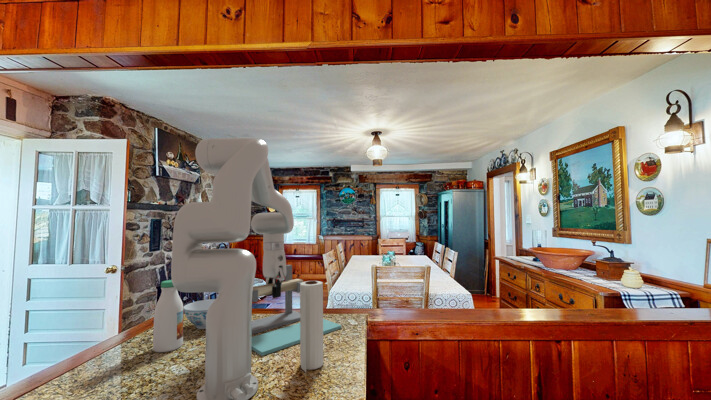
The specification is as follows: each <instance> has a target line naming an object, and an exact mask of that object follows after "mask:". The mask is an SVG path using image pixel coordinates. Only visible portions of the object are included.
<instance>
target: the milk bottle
mask: <svg viewBox="0 0 711 400" xmlns="http://www.w3.org/2000/svg"><path fill="white" fill-rule="evenodd" d="M160 289H161V293H160V296H159V299H158V301H157V302H156V303H155V307H154V313H153V335H152V338H153V340H152V341H153V342H152V349H153V352H155V353H168V352H172V351H174V350H175V351H176V350H177V349H179V348H181V347H182V346H183V343H184V303H183V301H182V299H181V296H180V295H179V291H178V290H177V289H176V288H175V287H174V286H173V283H172V279H167V280H163V281H161V282H160Z"/></svg>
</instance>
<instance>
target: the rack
mask: <svg viewBox="0 0 711 400" xmlns="http://www.w3.org/2000/svg"><path fill="white" fill-rule="evenodd" d="M284 278H285V280H284V281H289V280H293V265H292V264H286V276H285V277H284ZM300 283H302V282H297V289H294V290H289V291H284V293H285V294H284V296H285V297H284V299H285V300H284V302H285V303H284V304H285V305H284V307H285V309H284V311H285V312H280V313H278V314H273V315H269V316H265V317H261V318H258V319H254V320H253V319H252V335H253V336H254V335H257V334H260V333H263V332H267V331H269V329H270V330H273V329H276V327H277V328H279V327H284V326H286V325H290V324H291V325H292V324H293V323H297V322H300V311H297V310H293V292H295V293H297V294H300ZM257 302H259V297H258V290H253V293H252V303H257ZM283 325H284V326H283ZM266 330H267V331H266Z"/></svg>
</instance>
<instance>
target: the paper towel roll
mask: <svg viewBox="0 0 711 400" xmlns="http://www.w3.org/2000/svg"><path fill="white" fill-rule="evenodd" d="M323 283H324V282H323V281H319V280H307V281H303V282H302V283H300V293H299V307H300V308H299V313H300V321H299V323H300V343H299V344H300V347H299V351H300V353H299V354H300V357H299V358H300V362H299V363H300V368H301V370H303V371H304V372H305V373H307V370H309V371H311V370H316V369H320V368H321V367H323V365H324V334H323V319H324V289H323V287H324V284H323Z"/></svg>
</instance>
